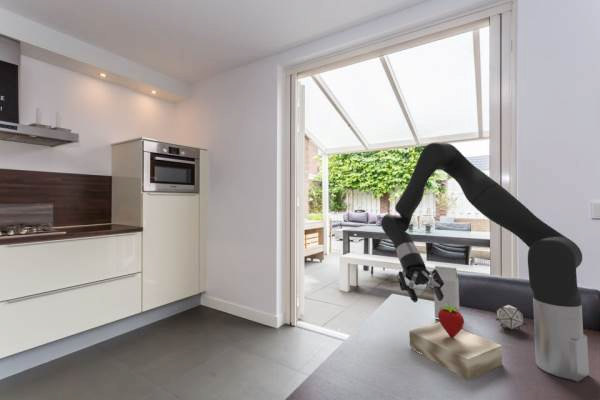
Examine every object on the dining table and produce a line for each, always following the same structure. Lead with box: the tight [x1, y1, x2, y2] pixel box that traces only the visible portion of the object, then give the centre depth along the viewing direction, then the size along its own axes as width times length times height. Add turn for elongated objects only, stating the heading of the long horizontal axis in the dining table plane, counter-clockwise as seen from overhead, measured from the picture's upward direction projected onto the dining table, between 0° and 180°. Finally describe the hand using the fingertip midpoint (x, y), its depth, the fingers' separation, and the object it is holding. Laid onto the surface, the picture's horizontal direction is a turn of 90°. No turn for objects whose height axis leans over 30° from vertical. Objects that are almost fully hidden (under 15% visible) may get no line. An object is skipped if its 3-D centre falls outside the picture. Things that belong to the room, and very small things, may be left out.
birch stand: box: [408, 321, 503, 381], centre depth 80 cm, size 18×14×5 cm
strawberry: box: [438, 302, 465, 338], centre depth 80 cm, size 6×8×10 cm
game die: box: [494, 301, 528, 333], centre depth 96 cm, size 9×8×10 cm
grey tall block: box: [433, 265, 461, 318], centre depth 106 cm, size 7×7×19 cm
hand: (428, 300), depth 92 cm, fingers open, 8 cm apart
